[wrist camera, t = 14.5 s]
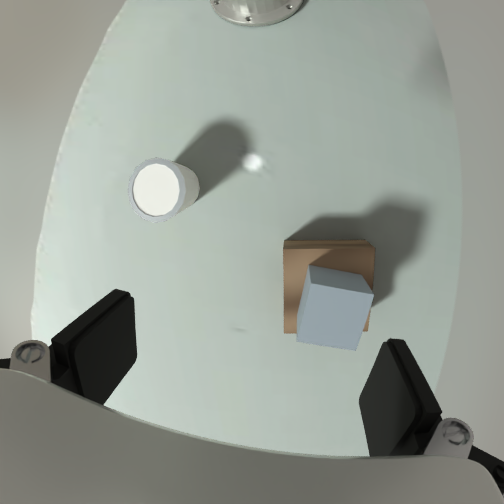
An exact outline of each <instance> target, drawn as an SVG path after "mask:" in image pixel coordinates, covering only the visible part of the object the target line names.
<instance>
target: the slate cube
mask: <svg viewBox="0 0 504 504" xmlns="http://www.w3.org/2000/svg"><path fill="white" fill-rule="evenodd" d="M373 297H374V293H373V292H372V290H371V289H370V287H369V286H368V284H367V282H366V281H365V279H364V278H363V276H362V275H360V274H355V273H350V272H345V271H339V270H334V269H329V268H324V267H318V266H313V265H308V269H307V274H306V278H305V283H304V287H303V292H302V296H301V300H300V305H299V309H298V313H297V342H303V343H309V344H315V345H321V346H327V347H334V348H341V349H347V350H355V351H356V349H357V346H358V343H359V340H360V337H361V335H362V332H363V329H364V326H365V323H366V320H367V317H368V314H369V310H370V307H371V304H372V301H373Z"/></svg>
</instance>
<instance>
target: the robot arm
mask: <svg viewBox="0 0 504 504" xmlns="http://www.w3.org/2000/svg"><path fill="white" fill-rule="evenodd" d="M210 2H211V5H212V7H213V9H214V10H215V12H216V13H217V14H218V15H219V16H220V17H222V18H223V19H225V20H226V21H229V22H231V23H233V24H237V25H241V26H250V27H253V26H265V25H271V24H274V23H278V22H280V21H282V20H285V19H287V18H288V17H290V16H291V15H293V14H294V13H295V12H296V11H297V10H298V9H299V7H300V6H301V4H302V2H303V0H210ZM51 342H52V344H51V345H50V346H49V347H48V346H47V345H46V344H45V343H43V342H42V341H38V340H28V341H24V342H22V343H20V344H18V345H17V346H16V347H15V348H14V349H13V351H12V354H11V358H9V359H0V504H504V462H503V461H501V460H499V459H497V458H496V457H494V456H492V455H490V454H488V453H486V452H484V451H482V450H480V449H478V448H476V447H475V446H473V445H472V443H473V439H474V436H473V431H472V430H471V429H470V427H469V426H468V425H467V424H466V423H465V422H463V421H461V420H459V419H456V418H446V419H444V420H442V418H441V416H440V415H441V413H442V410H441V408H440V406H439V404H438V402H437V400H436V398H435V396H434V394H433V392H432V390H431V388H430V386H429V384H428V383H427V381H426V379H425V377H424V375H423V373H422V371H421V369H420V367H419V366H418V364H417V362H416V360H415V358H414V356H413V355H412V353H411V351H410V349H409V348H408V346H407V344H406V342H405V341H404V340H401V339H391V338H390V339H388V341H387V342H383V344H382V346H381V348H380V351H379V353H378V356H377V358H376V361H375V363H374V366H373V368H372V370H371V373H370V375H369V377H368V379H367V382H366V384H365V386H364V388H363V390H362V393H361V395H360V398H359V406H360V410H361V415H362V420H363V424H364V429H365V434H366V439H367V444H368V449H369V454H370V457H365V456H327V455H312V454H300V453H290V452H282V451H274V450H267V449H260V448H254V447H248V446H242V445H237V444H231V443H226V442H222V441H217V440H212V439H208V438H204V437H200V436H196V435H192V434H188V433H184V432H180V431H177V430H173V429H170V428H166V427H163V426H160V425H157V424H153V423H150V422H147V421H144V420H141V419H138V418H135V417H133V416H130V415H127V414H124V413H122V412H119V411H116V410H114V409H111V408H109V407H106V406H104V403H105V402H106V401H107V399H108V398H109V396H110V395H111V394H112V392H113V391H114V390H115V388H116V387H117V386H118V384H119V383H120V382H121V380H122V379H123V378H124V376H125V375H126V374H127V372H128V371H129V370H130V368H131V367H132V366H133V364H134V363H135V361H136V358H137V346H136V330H135V309H134V298H133V297H131V295H130V293H129V292H126V291H122V290H118V289H114V290H113V291H112V292H110V293H109V294H108V295H106V296H105V297H104V298H102V299H101V300H100V301H98V302H97V303H96V304H95V305H93V306H92V307H91V308H89V309H88V310H87V311H86V312H84V313H83V314H82V315H80V316H79V317H78V318H77V319H75V320H74V321H73V322H72V323H70V324H69V325H68V326H67V327H65V328H64V329H63V330H62V331H60V332H59V333H58V334H57V335H55V336H54V337H53V338H52V339H51Z"/></svg>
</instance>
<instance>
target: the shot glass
mask: <svg viewBox="0 0 504 504" xmlns="http://www.w3.org/2000/svg"><path fill="white" fill-rule="evenodd" d="M199 190H200V186H199V180H198V178H197V176H196V174H195V173H194V172H193V171H192V170H190V169H189V168H188V167H185V166H183V165H180V164H178V163H175V162H172V161H170V160H166V159H162V158H153V159H148V160H145V161H144V162H143V163H141V164H140V165H139V166H137V167H136V169H135V170H134V172H133V173H132V175H131V177H130V180H129V185H128V196H129V202H130V204H131V206H132V207H133V209H134V211H135V213H137V214H138V215H139V216H140V217H141V218H143V219H144V220H147V221H151V222H154V223H156V222H162V221H167V220H168V219H170V218H171V217H173V216H175V215H176V214H178V213H180V212H181V211H183V210H185V209H186V208H188V207H189V206H191V205H192V204H193V203H194V202H195V200H196V199H197V198H198V194H199Z"/></svg>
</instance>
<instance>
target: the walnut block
mask: <svg viewBox="0 0 504 504" xmlns="http://www.w3.org/2000/svg"><path fill="white" fill-rule="evenodd" d="M374 261H375V248H374V247H373V246H372V245H371V244H370V243H368V242H367V241H366V240H284V247H283V265H284V333H297V313H298V309H299V305H300V300H301V296H302V292H303V287H304V283H305V278H306V274H307V269H308V265H313V266H318V267H324V268H329V269H334V270H339V271H345V272H350V273H355V274H360V275H362V276H363V278H364V279H365V281H366V282H367V284H368V286H369V287H370V289H371V290H372V288H373V275H374ZM370 308H371V307H370ZM369 317H370V310H369V314H368V317H367V320H366V323H365V326H364V329H363V331H368V325H369Z"/></svg>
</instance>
